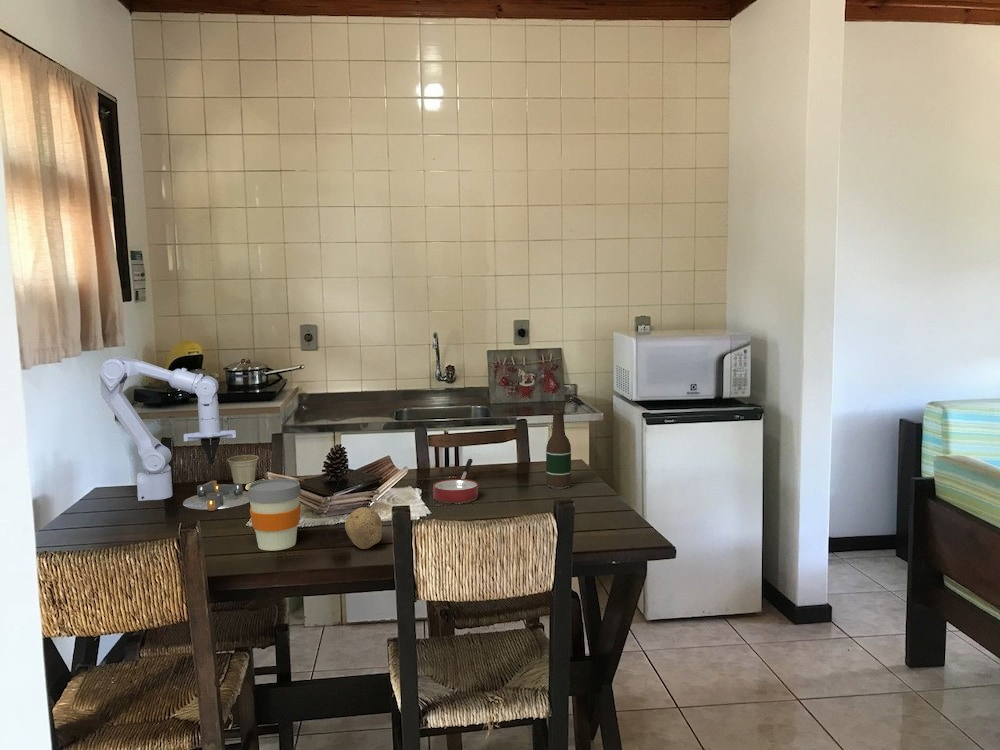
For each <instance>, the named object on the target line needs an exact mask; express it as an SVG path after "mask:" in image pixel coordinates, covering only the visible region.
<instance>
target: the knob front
mask: <svg viewBox="0 0 1000 750" xmlns="http://www.w3.org/2000/svg"><path fill="white" fill-rule="evenodd" d="M222 504H224V500H223V493H222V492H219V493H215V494H214V496H213V497H212V498H210V499H209V500H207V505H208V509H207V511H208V512H214V511H216V510H217V509H216V508H218V507H219V506H220V505H222Z"/></svg>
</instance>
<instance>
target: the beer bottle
mask: <svg viewBox="0 0 1000 750" xmlns="http://www.w3.org/2000/svg"><path fill="white" fill-rule="evenodd" d="M551 412H552V416H553V417H552V428H551V429H552V431H551V436H550V438H549V439H548V440H547V443H546V448H545V449H546V450H545V456H546V457H545V460H546V461H545V465H546V467H545V468H546V470H545V472H546V473H545V475H546V476H545V477H546V479H545V481H546V486H547V485H550V486H554V487H566V486H570V487H571V485H572V445H571V442H570V439H569V438H568V437H567V435H566V430H565V428H566V427H565V416H564V414H565V410H564V409H563V408H553V409H552V411H551ZM570 484H571V485H570Z"/></svg>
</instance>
